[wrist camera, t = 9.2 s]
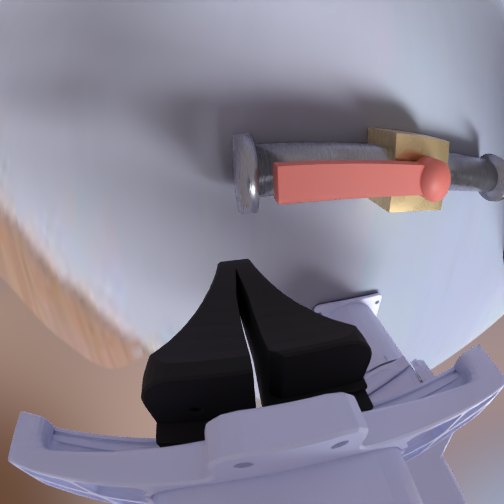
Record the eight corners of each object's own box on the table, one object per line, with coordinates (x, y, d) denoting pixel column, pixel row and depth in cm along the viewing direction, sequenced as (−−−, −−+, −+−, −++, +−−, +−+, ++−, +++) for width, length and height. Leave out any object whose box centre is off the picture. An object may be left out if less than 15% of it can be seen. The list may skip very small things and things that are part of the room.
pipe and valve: (474, 194, 24) (505, 211, 20) (235, 204, 21) (244, 233, 16) (481, 146, 21) (514, 158, 17) (230, 126, 18) (238, 130, 14)
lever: (440, 157, 17) (452, 161, 15) (436, 195, 18) (447, 201, 17) (272, 154, 15) (278, 158, 14) (274, 205, 17) (279, 213, 16)
